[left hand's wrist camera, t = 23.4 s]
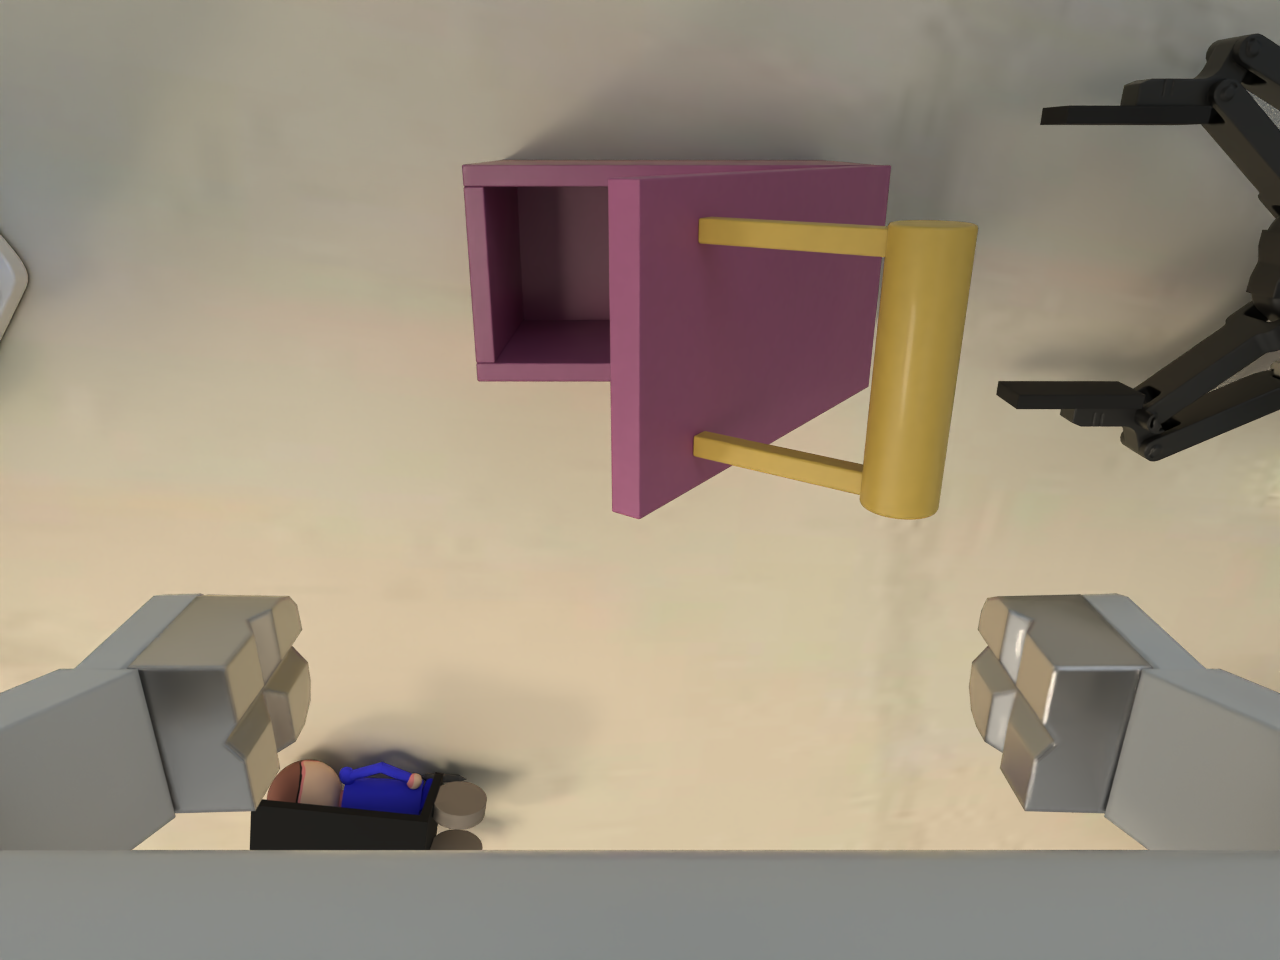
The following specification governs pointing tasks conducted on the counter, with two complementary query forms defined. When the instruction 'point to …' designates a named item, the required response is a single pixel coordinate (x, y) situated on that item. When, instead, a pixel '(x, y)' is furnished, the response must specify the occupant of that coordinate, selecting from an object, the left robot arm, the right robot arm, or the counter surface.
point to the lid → (780, 332)
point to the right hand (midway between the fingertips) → (1028, 263)
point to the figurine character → (366, 810)
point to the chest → (554, 260)
